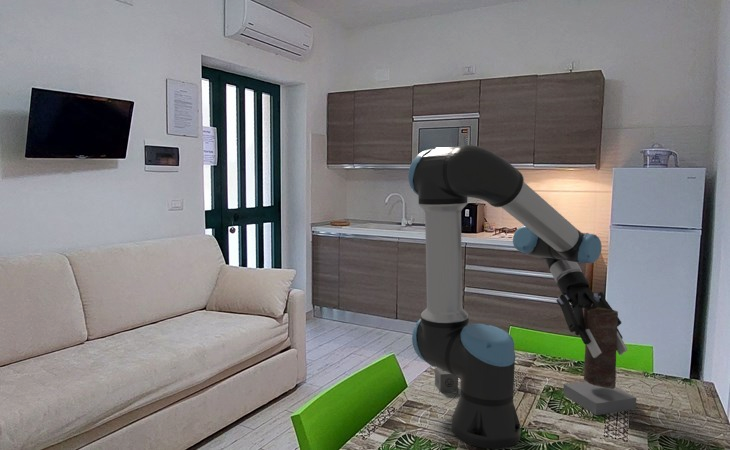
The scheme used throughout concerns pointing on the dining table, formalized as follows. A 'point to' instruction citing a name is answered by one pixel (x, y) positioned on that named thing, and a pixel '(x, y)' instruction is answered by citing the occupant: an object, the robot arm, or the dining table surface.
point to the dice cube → (445, 381)
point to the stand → (599, 398)
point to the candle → (602, 348)
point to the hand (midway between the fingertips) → (610, 353)
